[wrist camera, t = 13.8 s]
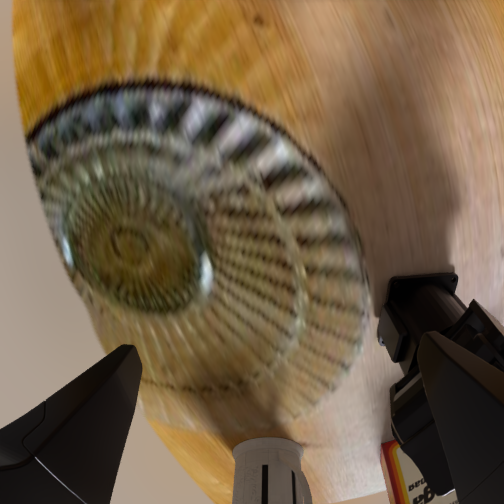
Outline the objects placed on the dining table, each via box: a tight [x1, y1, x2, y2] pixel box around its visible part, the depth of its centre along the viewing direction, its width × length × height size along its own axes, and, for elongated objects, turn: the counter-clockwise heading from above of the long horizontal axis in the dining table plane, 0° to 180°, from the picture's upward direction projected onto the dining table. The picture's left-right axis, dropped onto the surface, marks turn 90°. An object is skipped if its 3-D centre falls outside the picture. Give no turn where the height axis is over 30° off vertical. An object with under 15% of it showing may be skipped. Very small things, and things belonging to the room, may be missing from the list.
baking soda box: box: [381, 440, 459, 504], centre depth 25 cm, size 10×6×16 cm
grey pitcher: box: [232, 437, 312, 504], centre depth 25 cm, size 9×14×15 cm, turn 162°
